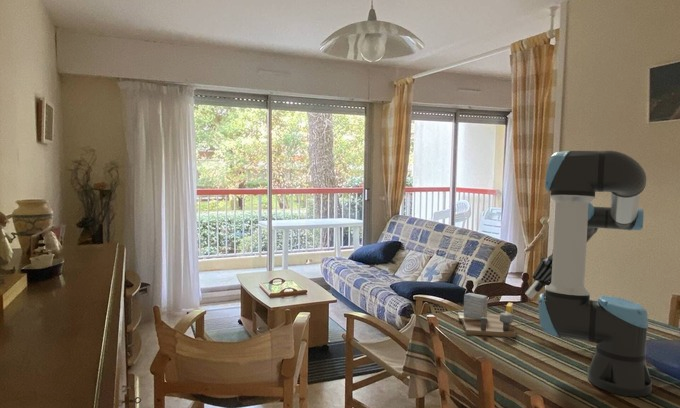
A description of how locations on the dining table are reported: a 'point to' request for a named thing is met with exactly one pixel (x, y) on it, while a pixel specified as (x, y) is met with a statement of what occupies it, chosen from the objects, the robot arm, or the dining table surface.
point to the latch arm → (507, 314)
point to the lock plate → (487, 326)
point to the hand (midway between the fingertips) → (528, 296)
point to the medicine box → (475, 305)
